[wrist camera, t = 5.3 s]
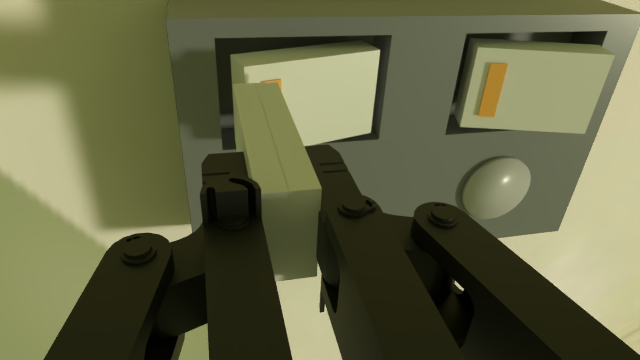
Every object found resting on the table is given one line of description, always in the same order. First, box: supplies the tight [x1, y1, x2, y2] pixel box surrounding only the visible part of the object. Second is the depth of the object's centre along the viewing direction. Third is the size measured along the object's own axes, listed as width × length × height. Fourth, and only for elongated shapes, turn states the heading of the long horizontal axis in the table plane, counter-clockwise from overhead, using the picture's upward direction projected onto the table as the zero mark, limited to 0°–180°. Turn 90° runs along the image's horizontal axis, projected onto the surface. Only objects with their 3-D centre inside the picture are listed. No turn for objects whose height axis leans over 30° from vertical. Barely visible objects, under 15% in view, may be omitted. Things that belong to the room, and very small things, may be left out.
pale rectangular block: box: [230, 40, 380, 146], centre depth 19 cm, size 4×6×2 cm, turn 87°
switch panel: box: [166, 0, 640, 238], centre depth 23 cm, size 12×20×4 cm, turn 87°
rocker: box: [454, 38, 615, 134], centre depth 21 cm, size 4×6×2 cm, turn 87°
